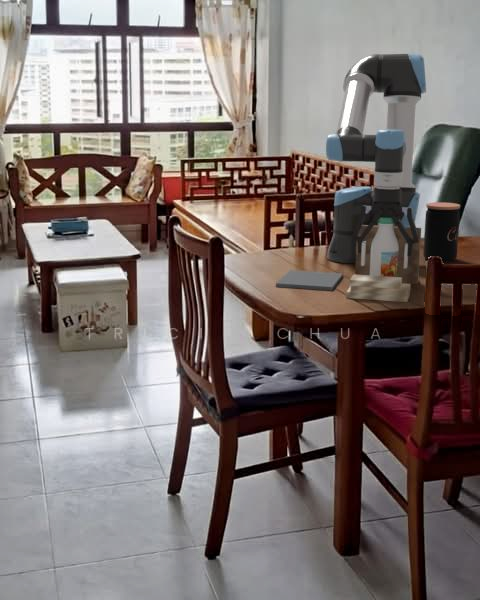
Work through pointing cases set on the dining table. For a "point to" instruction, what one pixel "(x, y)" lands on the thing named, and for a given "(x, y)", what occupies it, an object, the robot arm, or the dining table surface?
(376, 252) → the milk bottle
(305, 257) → the dining table surface
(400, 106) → the robot arm
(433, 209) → the coffee jar
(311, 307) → the dining table surface
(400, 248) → the offcut rack
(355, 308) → the dining table surface
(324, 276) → the charcoal mat
